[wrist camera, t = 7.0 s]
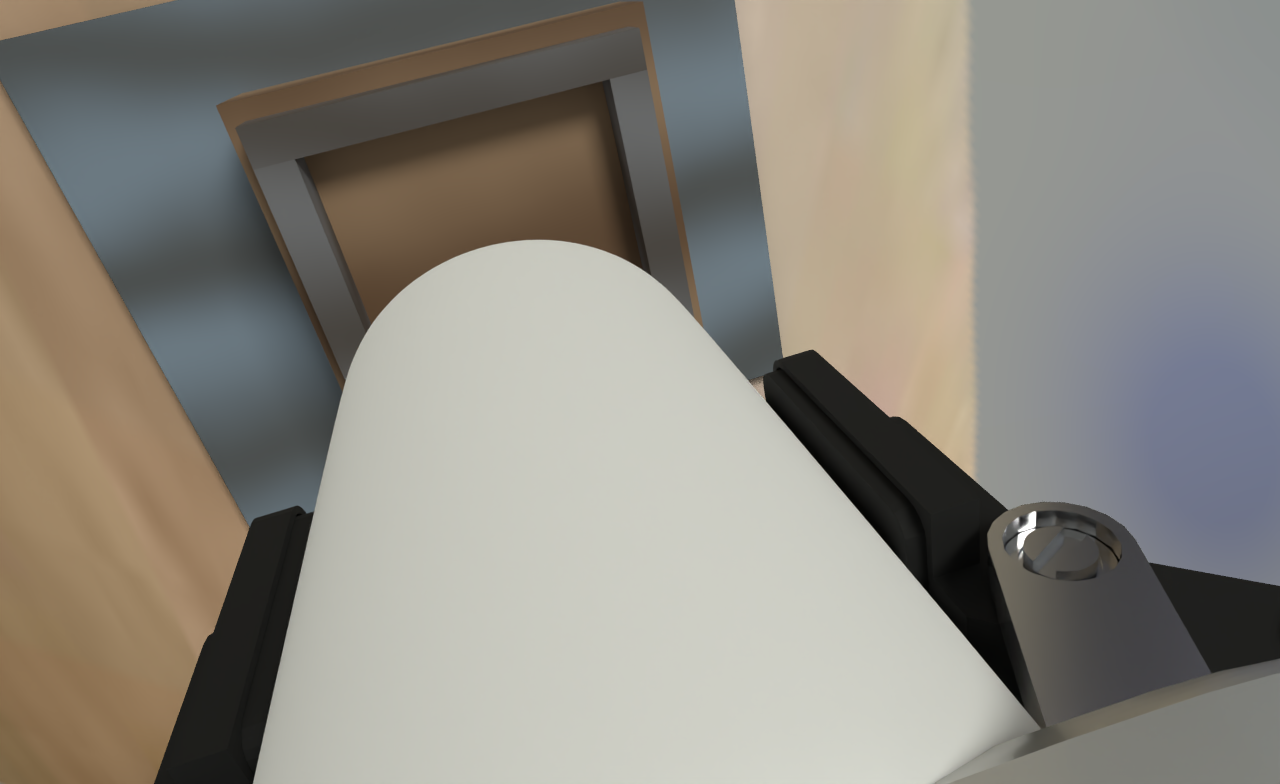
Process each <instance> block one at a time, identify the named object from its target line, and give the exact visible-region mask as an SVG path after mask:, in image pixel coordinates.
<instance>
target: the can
mask: <svg viewBox="0 0 1280 784" xmlns="http://www.w3.org/2000/svg"><path fill="white" fill-rule="evenodd" d="M1040 729H1041V728H1040V727H1039V726H1038V724H1037V723H1036V722H1035V721H1034V720H1033V718H1032V717H1031V716H1030V715H1029V714H1028V712H1027V711H1026V710H1025V709H1024V708H1023V706H1022V705H1021V704H1020V703H1019V702H1018V700H1017V699H1016V698H1015V697H1014V696H1013V694H1012V693H1011V692H1010V691H1009V689H1008V688H1007V687H1006V686H1005V685H1004V683H1003V682H1002V681H1001V680H1000V679H999V677H998V676H997V675H996V674H995V673H994V671H993V670H992V669H991V668H990V667H989V665H988V664H987V663H986V662H985V661H984V659H983V658H982V657H981V656H980V655H979V653H978V652H977V651H976V650H975V649H974V647H973V646H972V645H971V644H970V643H969V641H968V640H967V639H966V638H965V637H964V635H963V634H962V633H961V632H960V631H959V629H958V628H957V627H956V626H955V625H954V623H953V622H952V621H951V620H950V619H949V617H948V616H947V615H946V614H945V613H944V612H943V610H942V609H941V608H940V607H939V606H938V604H937V603H936V602H935V601H934V600H933V598H932V597H931V596H930V595H929V594H928V593H927V591H926V590H925V589H924V588H923V587H922V585H921V584H920V583H919V582H918V581H917V579H916V578H915V577H914V576H913V575H912V573H911V572H910V571H909V570H908V569H907V568H906V566H905V565H904V564H903V563H902V562H901V560H900V559H899V558H898V557H897V556H896V554H895V553H894V552H893V551H892V550H891V549H890V547H889V546H888V545H887V544H886V543H885V541H884V540H883V539H882V538H881V537H880V535H879V534H878V533H877V532H876V531H875V529H874V528H873V527H872V526H871V525H870V524H869V522H868V521H867V520H866V519H865V518H864V516H863V515H862V514H861V513H860V512H859V511H858V509H857V508H856V507H855V506H854V505H853V503H852V502H851V501H850V500H849V499H848V498H847V496H846V495H845V494H844V493H843V492H842V490H841V489H840V488H839V487H838V486H837V485H836V483H835V482H834V481H833V480H832V479H831V477H830V476H829V475H828V474H827V473H826V472H825V470H824V469H823V468H822V467H821V466H820V464H819V463H818V462H817V461H816V460H815V459H814V457H813V456H812V455H811V454H810V453H809V451H808V450H807V449H806V448H805V447H804V446H803V444H802V443H801V442H800V441H799V440H798V439H797V437H796V436H795V435H794V434H793V433H792V431H791V430H790V429H789V428H788V427H787V426H786V424H785V423H784V422H783V421H782V420H781V419H780V417H779V416H778V415H777V414H776V413H775V411H774V410H773V409H772V408H771V407H770V406H769V404H768V403H767V402H766V401H765V400H764V399H763V397H762V396H761V395H760V394H759V393H758V392H757V390H756V389H755V388H754V387H753V386H752V384H751V383H750V382H749V381H748V380H747V379H746V377H745V376H744V375H743V374H742V373H741V372H740V370H739V369H738V368H737V367H736V366H735V365H734V363H733V362H732V361H731V360H730V359H729V358H728V356H727V355H726V354H725V353H724V352H723V351H722V349H721V348H720V347H719V346H718V345H717V344H716V343H715V341H714V340H713V339H712V338H711V337H710V336H709V334H708V333H707V332H706V331H705V330H704V329H703V328H702V326H701V325H700V324H699V323H698V322H697V321H696V320H695V318H694V317H693V316H692V315H691V314H690V313H689V312H688V311H687V309H686V308H685V307H684V306H683V305H682V304H681V303H680V302H679V301H678V300H677V299H676V298H675V297H674V296H673V295H672V294H671V293H670V292H669V291H668V290H667V289H666V288H665V287H664V286H663V285H662V284H661V283H659V282H658V281H657V280H656V279H654V278H653V277H652V276H650V275H649V274H648V273H646V272H645V271H643V270H642V269H640V268H639V267H637V266H635V265H634V264H632V263H630V262H628V261H626V260H624V259H622V258H620V257H618V256H616V255H613V254H611V253H608V252H606V251H603V250H600V249H597V248H593V247H590V246H586V245H582V244H577V243H571V242H565V241H555V240H522V241H512V242H505V243H499V244H495V245H490V246H486V247H482V248H479V249H476V250H472V251H469V252H467V253H464V254H461V255H459V256H457V257H454V258H452V259H450V260H448V261H446V262H444V263H442V264H440V265H438V266H436V267H434V268H433V269H431V270H429V271H428V272H426V273H425V274H423V275H422V276H420V277H419V278H417V279H416V280H414V281H413V282H412V283H411V284H409V285H408V286H407V287H406V288H404V289H403V290H402V291H401V292H400V293H399V294H398V295H397V296H396V297H395V298H394V299H393V300H392V301H391V302H390V303H389V304H388V305H387V306H386V307H385V308H384V309H383V310H382V312H381V313H380V314H379V315H378V317H377V318H376V319H375V321H374V322H373V323H372V325H371V326H370V328H369V329H368V331H367V333H366V334H365V336H364V338H363V340H362V341H361V343H360V345H359V347H358V350H357V352H356V354H355V356H354V358H353V361H352V363H351V366H350V369H349V372H348V375H347V378H346V382H345V385H344V389H343V393H342V396H341V400H340V404H339V408H338V412H337V416H336V420H335V425H334V429H333V433H332V437H331V442H330V446H329V450H328V454H327V459H326V463H325V467H324V471H323V476H322V480H321V484H320V489H319V493H318V497H317V502H316V506H315V511H314V515H313V519H312V524H311V528H310V532H309V537H308V541H307V545H306V550H305V554H304V559H303V563H302V567H301V572H300V576H299V581H298V585H297V589H296V594H295V598H294V603H293V607H292V612H291V616H290V620H289V625H288V629H287V634H286V638H285V642H284V647H283V651H282V656H281V660H280V665H279V669H278V673H277V678H276V682H275V687H274V691H273V696H272V700H271V705H270V709H269V714H268V718H267V723H266V727H265V732H264V736H263V741H262V745H261V750H260V754H259V759H258V763H257V767H256V772H255V776H254V781H253V784H934V783H935V782H937V781H938V780H940V779H942V778H944V777H945V776H947V775H949V774H950V773H952V772H953V771H955V770H956V769H958V768H960V767H961V766H963V765H964V764H966V763H968V762H969V761H971V760H973V759H974V758H976V757H978V756H979V755H981V754H982V753H984V752H985V751H987V750H988V749H990V748H991V747H993V746H995V745H998V744H1001V743H1004V742H1006V741H1009V740H1012V739H1014V738H1017V737H1020V736H1023V735H1026V734H1029V733H1032V732H1035V731H1038V730H1040Z"/></svg>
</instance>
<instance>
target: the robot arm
mask: <svg viewBox="0 0 1280 784" xmlns="http://www.w3.org/2000/svg"><path fill="white" fill-rule="evenodd" d="M763 384H764V391H765V398H766V402H767V403H768V404H769V406H770V407H771V408H772V409H773V410H774V411H775V413H776V414H777V415H778V416H779V417H780V419H781V420H782V421H783V422H784V423H785V424H786V426H787V427H788V428H789V429H790V430H791V431H792V433H793V434H794V435H795V436H796V437H797V439H798V440H799V441H800V442H801V443H802V444H803V446H804V447H805V448H806V449H807V450H808V451H809V453H810V454H811V455H812V456H813V457H814V459H815V460H816V461H817V462H818V463H819V464H820V466H821V467H822V468H823V469H824V470H825V472H826V473H827V474H828V475H829V476H830V477H831V479H832V480H833V481H834V482H835V483H836V485H837V486H838V487H839V488H840V489H841V490H842V492H843V493H844V494H845V495H846V496H847V498H848V499H849V500H850V501H851V502H852V503H853V505H854V506H855V507H856V508H857V509H858V511H859V512H860V513H861V514H862V515H863V516H864V518H865V519H866V520H867V521H868V522H869V524H870V525H871V526H872V527H873V528H874V529H875V531H876V532H877V533H878V534H879V535H880V537H881V538H882V539H883V540H884V541H885V543H886V544H887V545H888V546H889V547H890V549H891V550H892V551H893V552H894V553H895V554H896V556H897V557H898V558H899V559H900V560H901V562H902V563H903V564H904V565H905V566H906V568H907V569H908V570H909V571H910V572H911V573H912V575H913V576H914V577H915V578H916V579H917V581H918V582H919V583H920V584H921V585H922V587H923V588H924V589H925V590H926V591H927V593H928V594H929V595H930V596H931V597H932V598H933V600H934V601H935V602H936V603H937V604H938V606H939V607H940V608H941V609H942V610H943V612H944V613H945V614H946V615H947V616H948V617H949V619H950V620H951V621H952V622H953V623H954V625H955V626H956V627H957V628H958V629H959V631H960V632H961V633H962V634H963V635H964V637H965V638H966V639H967V640H968V641H969V643H970V644H971V645H972V646H973V647H974V649H975V650H976V651H977V652H978V653H979V655H980V656H981V657H982V658H983V659H984V661H985V662H986V663H987V664H988V665H989V667H990V668H991V669H992V670H993V671H994V673H995V674H996V675H997V676H998V677H999V679H1000V680H1001V681H1002V682H1003V683H1004V685H1005V686H1006V687H1007V688H1008V689H1009V691H1010V692H1011V693H1012V694H1013V696H1014V697H1015V698H1016V699H1017V700H1018V702H1019V703H1020V704H1021V705H1022V706H1023V708H1024V709H1025V710H1026V711H1027V712H1028V714H1029V715H1030V716H1031V717H1032V718H1033V720H1034V721H1035V722H1036V723H1037V724H1038V726H1039V727H1040V728H1041V729H1040V730H1038V731H1035V732H1032V733H1029V734H1026V735H1023V736H1020V737H1017V738H1014V739H1012V740H1009V741H1006V742H1004V743H1001V744H998V745H995V746H993V747H991V748H990V749H988V750H987V751H985V752H984V753H982V754H981V755H979V756H978V757H976V758H974V759H973V760H971V761H969V762H968V763H966V764H964V765H963V766H961V767H960V768H958V769H956V770H955V771H953V772H952V773H950V774H949V775H947V776H945V777H944V778H942V779H940V780H938V781H937V782H935V783H934V784H1280V586H1276V585H1270V584H1265V583H1259V582H1253V581H1248V580H1243V579H1237V578H1232V577H1226V576H1221V575H1215V574H1210V573H1204V572H1198V571H1193V570H1188V569H1182V568H1176V567H1170V566H1165V565H1160V564H1154V563H1149V562H1148V561H1147V559H1146V557H1145V555H1144V553H1143V552H1142V550H1141V548H1140V547H1139V545H1138V543H1137V541H1136V540H1135V538H1134V537H1133V536H1132V535H1131V534H1130V533H1129V531H1128V530H1127V529H1126V528H1125V526H1123V525H1122V524H1120V523H1119V522H1117V521H1116V520H1114V519H1113V518H1111V517H1110V516H1108V515H1106V514H1104V513H1101V512H1098V511H1096V510H1093V509H1091V508H1088V507H1085V506H1080V505H1075V504H1069V503H1065V502H1038V503H1032V504H1025V505H1021V506H1018V507H1016V508H1013V509H1011V510H1007V509H1006V508H1005V507H1004V506H1003V505H1002V504H1001V503H999V502H998V501H997V500H996V499H995V498H994V497H993V496H991V495H990V494H989V493H988V492H987V491H986V490H984V489H983V488H982V487H981V486H980V485H979V484H978V483H976V482H975V481H974V480H973V479H972V478H971V477H970V476H968V475H967V474H966V473H965V472H964V471H963V470H962V469H960V468H959V467H958V466H957V465H956V464H955V463H954V462H952V461H951V460H950V459H949V458H948V457H947V456H946V455H944V454H943V453H942V452H941V451H940V450H939V449H938V448H936V447H935V446H934V445H933V444H932V443H931V442H929V441H928V440H927V439H926V438H925V437H924V436H923V435H921V434H920V433H919V432H918V431H917V430H916V429H915V428H913V427H912V426H911V425H910V424H909V423H908V422H907V421H905V420H903V419H902V418H900V417H888V416H887V415H886V414H885V413H884V412H883V411H882V410H881V409H879V408H878V407H877V406H876V405H875V404H874V403H873V402H872V401H871V400H869V399H868V398H867V397H866V396H865V395H864V394H863V393H862V392H861V391H859V390H858V389H857V388H856V387H855V386H854V385H853V384H852V383H850V382H849V381H848V380H847V379H846V378H845V377H844V376H843V375H842V374H840V373H839V372H838V371H837V370H836V369H835V368H834V367H833V366H832V365H830V364H829V363H828V362H827V361H826V360H825V359H824V358H823V357H821V356H820V355H819V354H818V353H817V352H816V351H814V350H808V351H805V352H802V353H799V354H795V355H792V356H789V357H785V358H782V359H779V360H775V362H774V364H773V372H770V373H767V374H764V376H763ZM313 515H314V511H313V512H310V513H306V512H305V511H304V509H303V508H302V507H300V506H298V505H297V506H293V507H290V508H287V509H284V510H280V511H277V512H274V513H270V514H267V515H264V516H261V517H257V518H255V519H254V520H253V521H252V523H251V525H250V528H249V531H248V534H247V537H246V540H245V543H244V546H243V549H242V552H241V554H240V557H239V560H238V563H237V566H236V569H235V572H234V575H233V578H232V580H231V583H230V586H229V589H228V592H227V595H226V598H225V601H224V604H223V607H222V609H221V612H220V615H219V618H218V621H217V624H216V627H215V630H214V632H213V633H212V634H211V635H209V636H208V637H207V639H206V641H205V643H204V645H203V647H202V650H201V653H200V656H199V659H198V661H197V664H196V667H195V670H194V673H193V675H192V678H191V681H190V684H189V687H188V690H187V692H186V695H185V698H184V701H183V704H182V706H181V709H180V712H179V715H178V718H177V721H176V723H175V726H174V729H173V732H172V735H171V738H170V740H169V743H168V746H167V749H166V752H165V754H164V757H163V760H162V763H161V766H160V769H159V771H158V774H157V777H156V780H155V783H154V784H253V781H254V776H255V772H256V767H257V763H258V759H259V754H260V750H261V745H262V741H263V736H264V732H265V727H266V723H267V718H268V714H269V709H270V705H271V700H272V696H273V691H274V687H275V682H276V678H277V673H278V669H279V665H280V660H281V656H282V651H283V647H284V642H285V638H286V634H287V629H288V625H289V620H290V616H291V612H292V607H293V603H294V598H295V594H296V589H297V585H298V581H299V576H300V572H301V567H302V563H303V559H304V554H305V550H306V545H307V541H308V537H309V532H310V528H311V524H312V519H313Z"/></svg>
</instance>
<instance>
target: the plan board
mask: <svg viewBox="0 0 1280 784" xmlns="http://www.w3.org/2000/svg"><path fill="white" fill-rule="evenodd" d="M0 80H1V82H2V84H3V86H4V88H5V89H6V91H7V93H8V95H9V97H10V98H11V100H12V102H13V104H14V105H15V107H16V109H17V111H18V113H19V114H20V116H21V118H22V120H23V122H24V123H25V125H26V127H27V129H28V131H29V132H30V134H31V136H32V138H33V140H34V141H35V143H36V145H37V147H38V149H39V150H40V152H41V154H42V156H43V157H44V159H45V161H46V163H47V165H48V166H49V168H50V170H51V172H52V174H53V175H54V177H55V179H56V181H57V183H58V184H59V186H60V188H61V190H62V192H63V193H64V195H65V197H66V199H67V200H68V202H69V204H70V206H71V208H72V209H73V211H74V213H75V215H76V217H77V218H78V220H79V222H80V224H81V226H82V227H83V229H84V231H85V233H86V235H87V236H88V238H89V240H90V242H91V243H92V245H93V247H94V249H95V251H96V252H97V254H98V256H99V258H100V260H101V261H102V263H103V265H104V267H105V269H106V270H107V272H108V274H109V276H110V278H111V279H112V281H113V283H114V285H115V287H116V288H117V290H118V292H119V294H120V295H121V297H122V299H123V301H124V303H125V304H126V306H127V308H128V310H129V312H130V313H131V315H132V317H133V319H134V321H135V322H136V324H137V326H138V328H139V330H140V331H141V333H142V335H143V337H144V338H145V340H146V342H147V344H148V346H149V347H150V349H151V351H152V353H153V355H154V356H155V358H156V360H157V362H158V364H159V365H160V367H161V369H162V371H163V373H164V374H165V376H166V378H167V380H168V381H169V383H170V385H171V387H172V389H173V390H174V392H175V394H176V396H177V398H178V399H179V401H180V403H181V405H182V407H183V408H184V410H185V412H186V414H187V416H188V417H189V419H190V421H191V423H192V424H193V426H194V428H195V430H196V432H197V433H198V435H199V437H200V439H201V441H202V442H203V444H204V446H205V448H206V450H207V451H208V453H209V455H210V457H211V459H212V460H213V462H214V464H215V466H216V468H217V469H218V471H219V473H220V475H221V476H222V478H223V480H224V482H225V484H226V485H227V487H228V489H229V491H230V493H231V494H232V496H233V498H234V500H235V502H236V503H237V505H238V507H239V509H240V511H241V512H242V514H243V516H244V518H245V519H246V521H247V523H248V525H249V527H250V525H251V523H252V521H253V520H254V519H255V518H257V517H261V516H264V515H267V514H270V513H274V512H277V511H280V510H284V509H287V508H290V507H293V506H297V505H298V506H300V507H302V508H303V509H304V511H305V512H306V513H310V512H313V511H315V506H316V502H317V497H318V493H319V489H320V484H321V480H322V476H323V471H324V467H325V463H326V459H327V454H328V450H329V446H330V442H331V437H332V433H333V429H334V425H335V420H336V416H337V412H338V408H339V404H340V400H341V396H342V393H343V389H344V385H345V382H346V378H347V375H348V372H349V369H350V366H351V363H352V361H353V358H354V356H355V354H356V352H357V350H358V347H359V345H360V343H361V341H362V340H363V338H364V336H365V334H366V333H367V331H368V329H369V328H370V326H371V325H372V323H373V322H374V321H375V319H376V318H377V317H378V315H379V314H380V313H381V312H382V310H383V309H384V308H385V307H386V306H387V305H388V304H389V303H390V302H391V301H392V300H393V299H394V298H395V297H396V296H397V295H398V294H399V293H400V292H401V291H402V290H403V289H404V288H406V287H407V286H408V285H409V284H411V283H412V282H413V281H414V280H416V279H417V278H419V277H420V276H422V275H423V274H425V273H426V272H428V271H429V270H431V269H433V268H434V267H436V266H438V265H440V264H442V263H444V262H446V261H448V260H450V259H452V258H454V257H457V256H459V255H461V254H464V253H467V252H469V251H472V250H476V249H479V248H482V247H486V246H490V245H495V244H499V243H505V242H512V241H522V240H555V241H565V242H571V243H577V244H582V245H586V246H590V247H593V248H597V249H600V250H603V251H606V252H608V253H611V254H613V255H616V256H618V257H620V258H622V259H624V260H626V261H628V262H630V263H632V264H634V265H635V266H637V267H639V268H640V269H642V270H643V271H645V272H646V273H648V274H649V275H650V276H652V277H653V278H654V279H656V280H657V281H658V282H659V283H661V284H662V285H663V286H664V287H665V288H666V289H667V290H668V291H669V292H670V293H671V294H672V295H673V296H674V297H675V298H676V299H677V300H678V301H679V302H680V303H681V304H682V305H683V306H684V307H685V308H686V309H687V311H688V312H689V313H690V314H691V315H692V316H693V317H694V318H695V320H696V321H697V322H698V323H699V324H700V325H701V326H702V328H703V329H704V330H705V331H706V332H707V333H708V334H709V336H710V337H711V338H712V339H713V340H714V341H715V343H716V344H717V345H718V346H719V347H720V348H721V349H722V351H723V352H724V353H725V354H726V355H727V356H728V358H729V359H730V360H731V361H732V362H733V363H734V365H735V366H736V367H737V368H738V369H739V370H740V372H741V373H742V374H743V375H744V376H745V377H746V379H747V380H750V379H753V378H757V377H760V376H763V375H764V374H767V373H770V372H773V364H774V362H775V360H779V359H782V358H783V355H782V348H781V340H780V333H779V325H778V318H777V311H776V303H775V296H774V289H773V281H772V274H771V266H770V259H769V252H768V244H767V237H766V229H765V222H764V215H763V207H762V200H761V192H760V185H759V178H758V170H757V163H756V156H755V148H754V141H753V133H752V126H751V119H750V111H749V104H748V96H747V89H746V82H745V74H744V67H743V60H742V52H741V45H740V37H739V30H738V23H737V15H736V8H735V0H176V1H172V2H167V3H163V4H159V5H154V6H150V7H145V8H141V9H137V10H132V11H128V12H124V13H119V14H115V15H110V16H106V17H102V18H97V19H93V20H89V21H84V22H80V23H75V24H71V25H67V26H62V27H58V28H53V29H49V30H45V31H40V32H36V33H32V34H27V35H23V36H18V37H14V38H10V39H5V40H1V41H0Z"/></svg>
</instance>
